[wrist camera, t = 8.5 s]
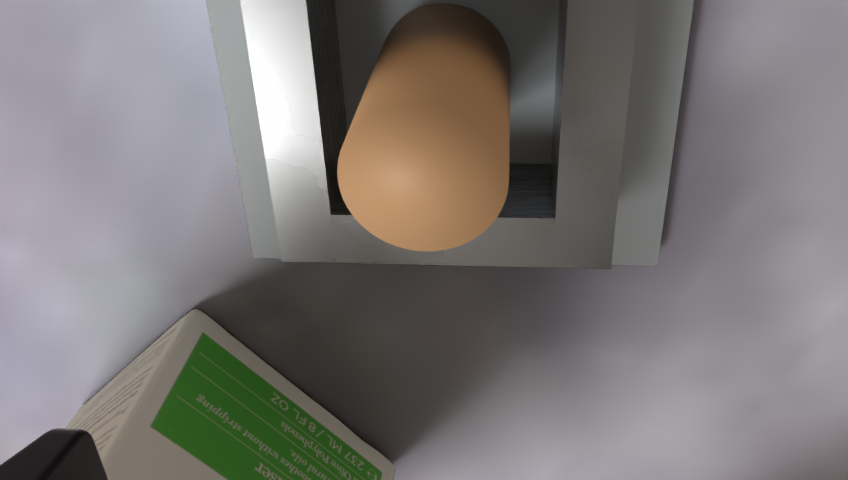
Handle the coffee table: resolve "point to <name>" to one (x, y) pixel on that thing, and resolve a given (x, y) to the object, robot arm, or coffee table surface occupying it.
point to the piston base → (523, 105)
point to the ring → (528, 183)
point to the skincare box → (217, 417)
